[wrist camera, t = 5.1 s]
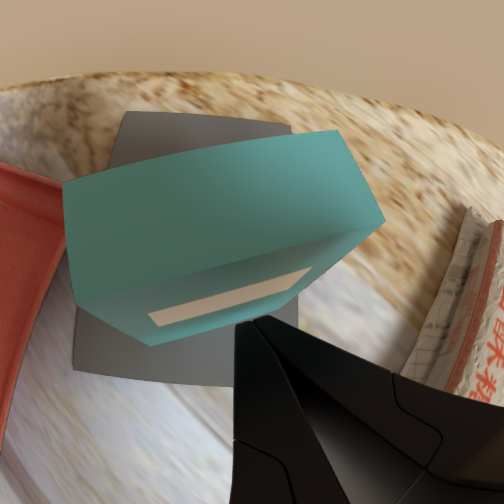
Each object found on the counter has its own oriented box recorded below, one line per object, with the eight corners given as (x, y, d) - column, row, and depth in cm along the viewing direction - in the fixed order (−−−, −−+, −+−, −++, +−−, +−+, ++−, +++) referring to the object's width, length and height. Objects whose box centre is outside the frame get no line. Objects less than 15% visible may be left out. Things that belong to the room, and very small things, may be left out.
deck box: (278, 309, 16) (385, 221, 7) (150, 346, 14) (74, 304, 5) (261, 260, 17) (337, 129, 8) (136, 294, 15) (62, 182, 6)
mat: (295, 386, 15) (297, 387, 15) (75, 369, 14) (72, 369, 13) (289, 129, 21) (290, 125, 20) (127, 115, 19) (126, 111, 19)
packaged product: (505, 490, 10) (414, 434, 11) (456, 479, 14) (363, 423, 15) (564, 265, 17) (499, 181, 18) (526, 282, 21) (461, 211, 22)
